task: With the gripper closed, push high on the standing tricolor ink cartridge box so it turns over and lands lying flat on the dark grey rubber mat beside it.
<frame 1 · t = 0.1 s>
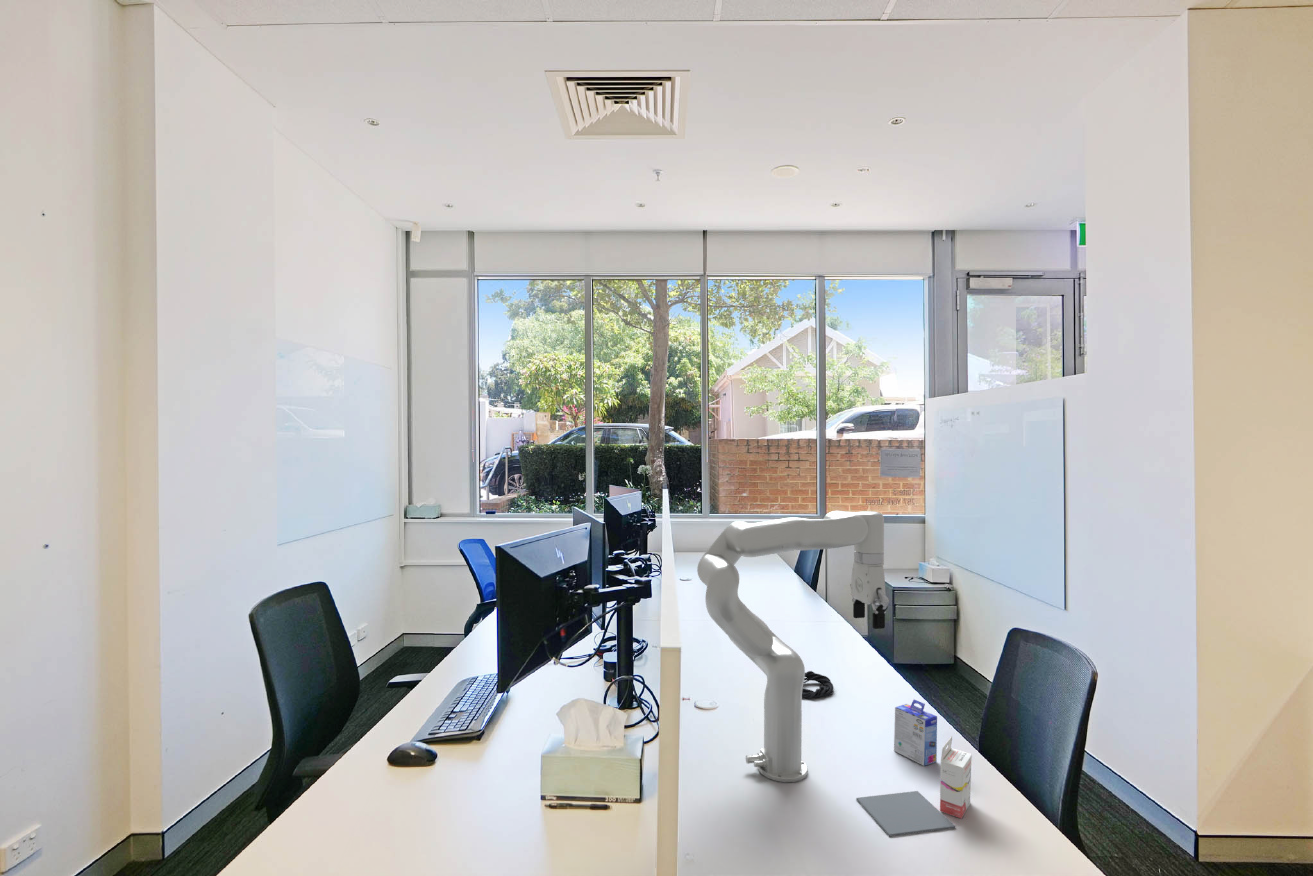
hand: (868, 622, 167), 37 cm above the table, tool pointing down, fingers open, 9 cm apart
cable: (812, 691, 215), on the table
rubber mat: (904, 813, 144), on the table
ink cartridge box: (915, 757, 170), on the table
ink cartridge box 2: (955, 808, 147), on the table
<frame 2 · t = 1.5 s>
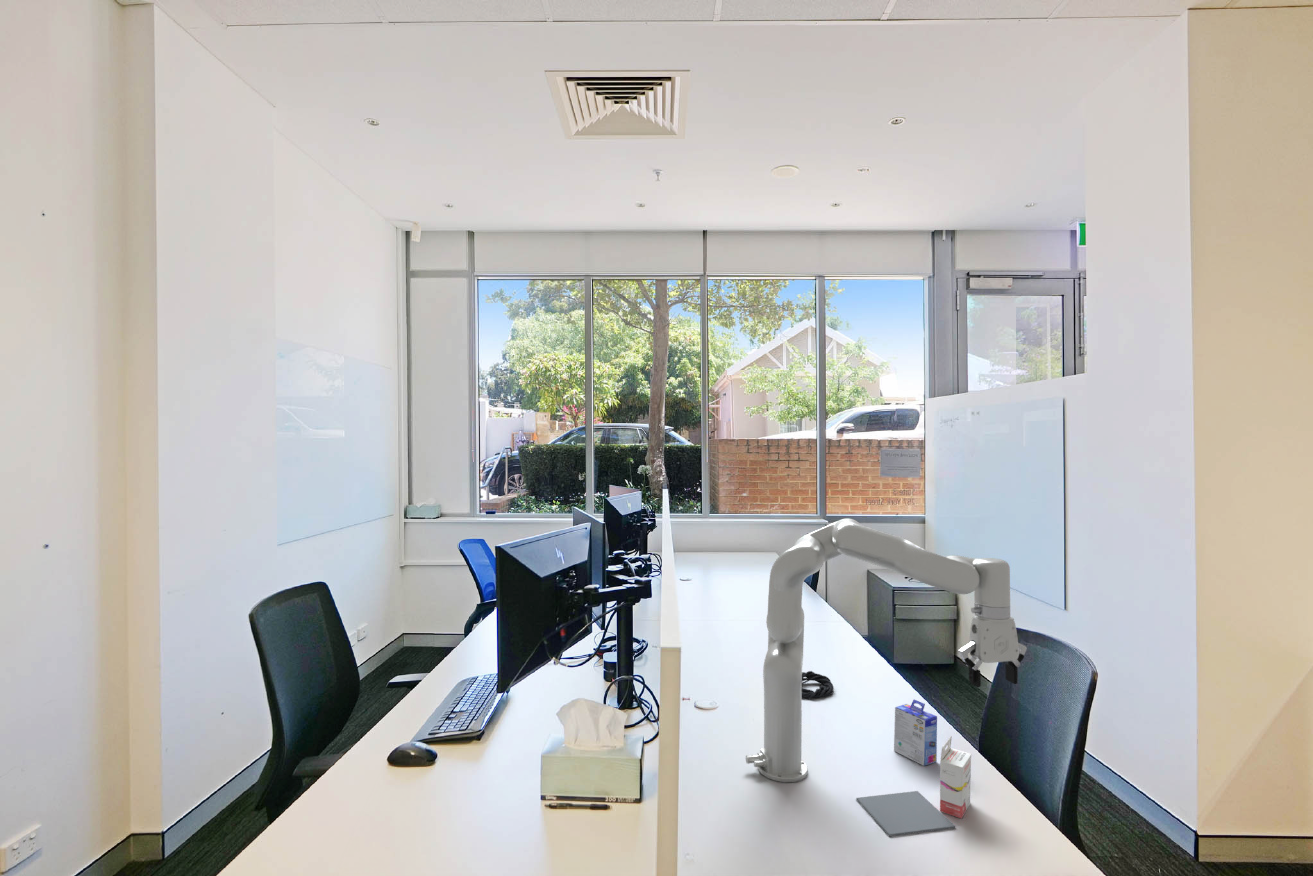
hand: (993, 683, 150), 28 cm above the table, tool pointing down, fingers open, 9 cm apart
nothing on the table moved.
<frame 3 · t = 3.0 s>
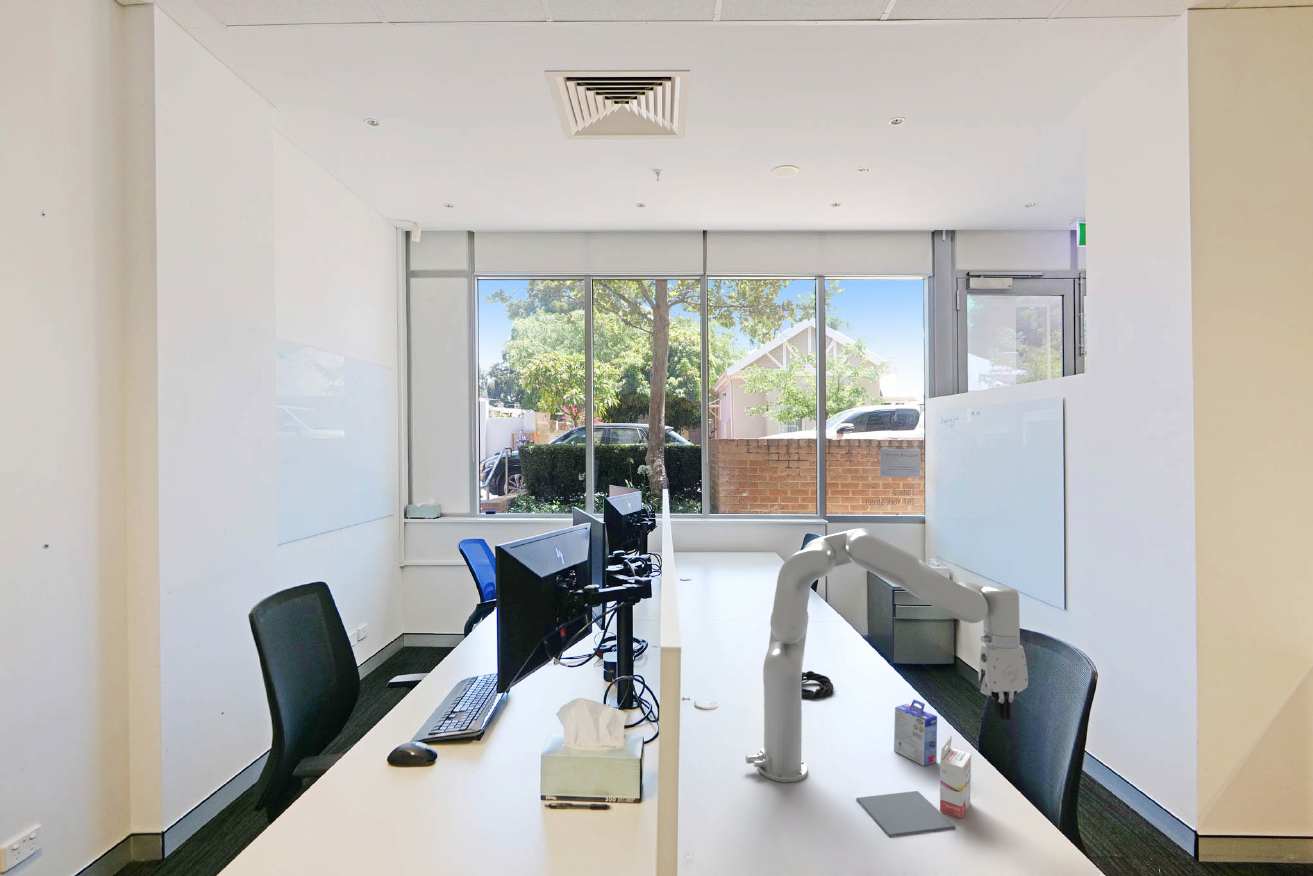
hand: (1002, 717, 149), 20 cm above the table, tool pointing down, fingers closed
nothing on the table moved.
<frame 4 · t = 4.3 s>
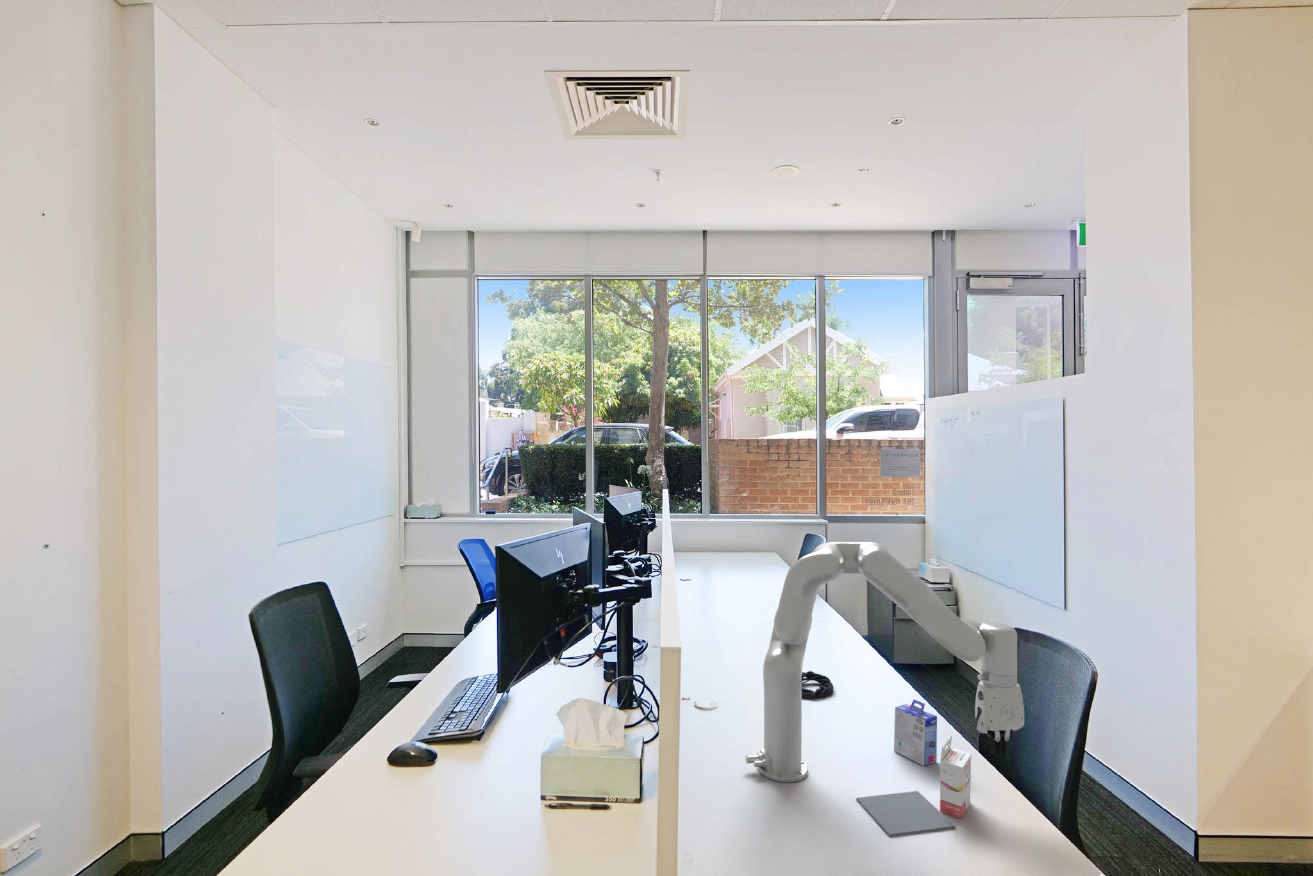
hand: (998, 755, 149), 11 cm above the table, tool pointing down, fingers closed
nothing on the table moved.
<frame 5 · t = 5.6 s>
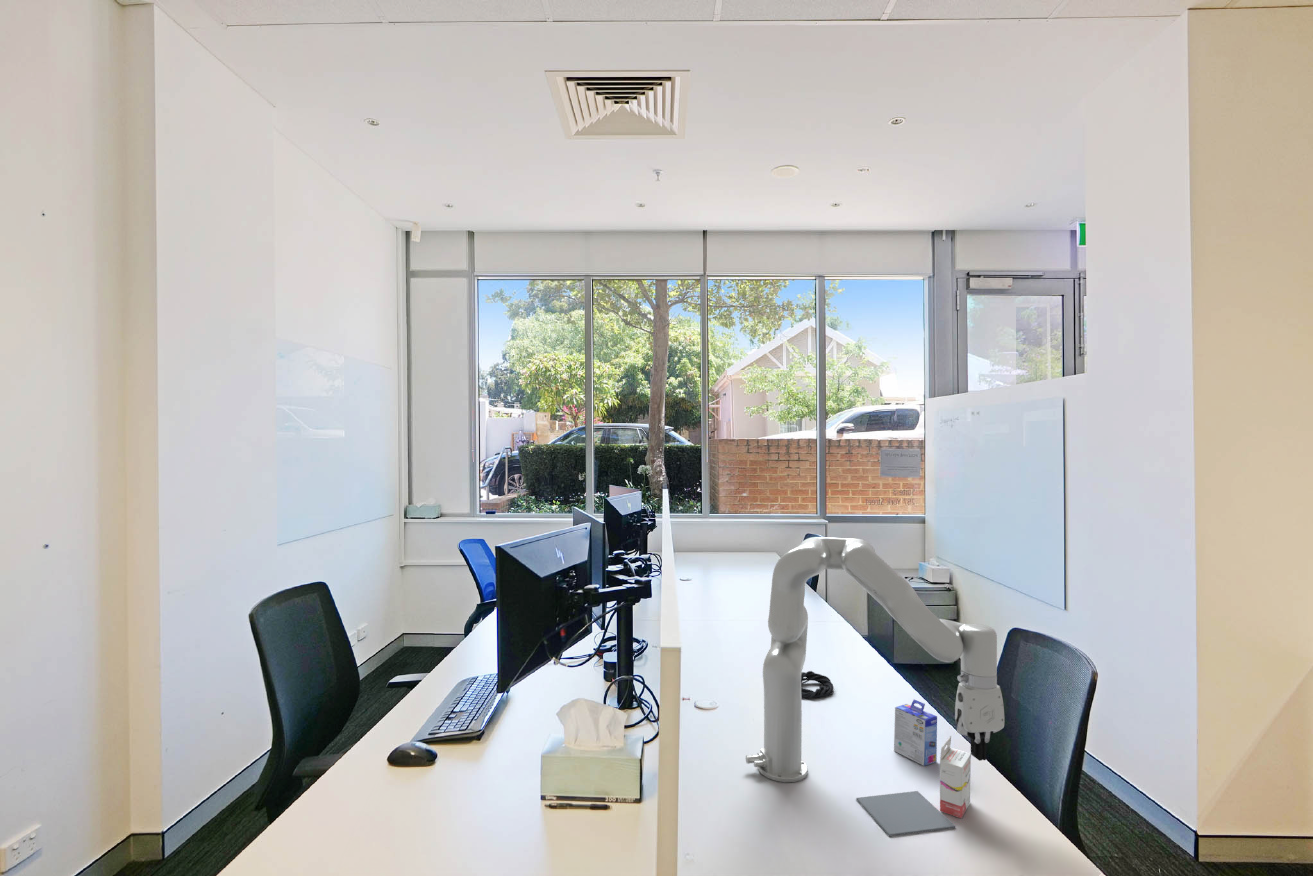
hand: (978, 757, 148), 11 cm above the table, tool pointing down, fingers closed
ink cartridge box 2: (955, 807, 147), on the table, touching gripper
everything else where it was.
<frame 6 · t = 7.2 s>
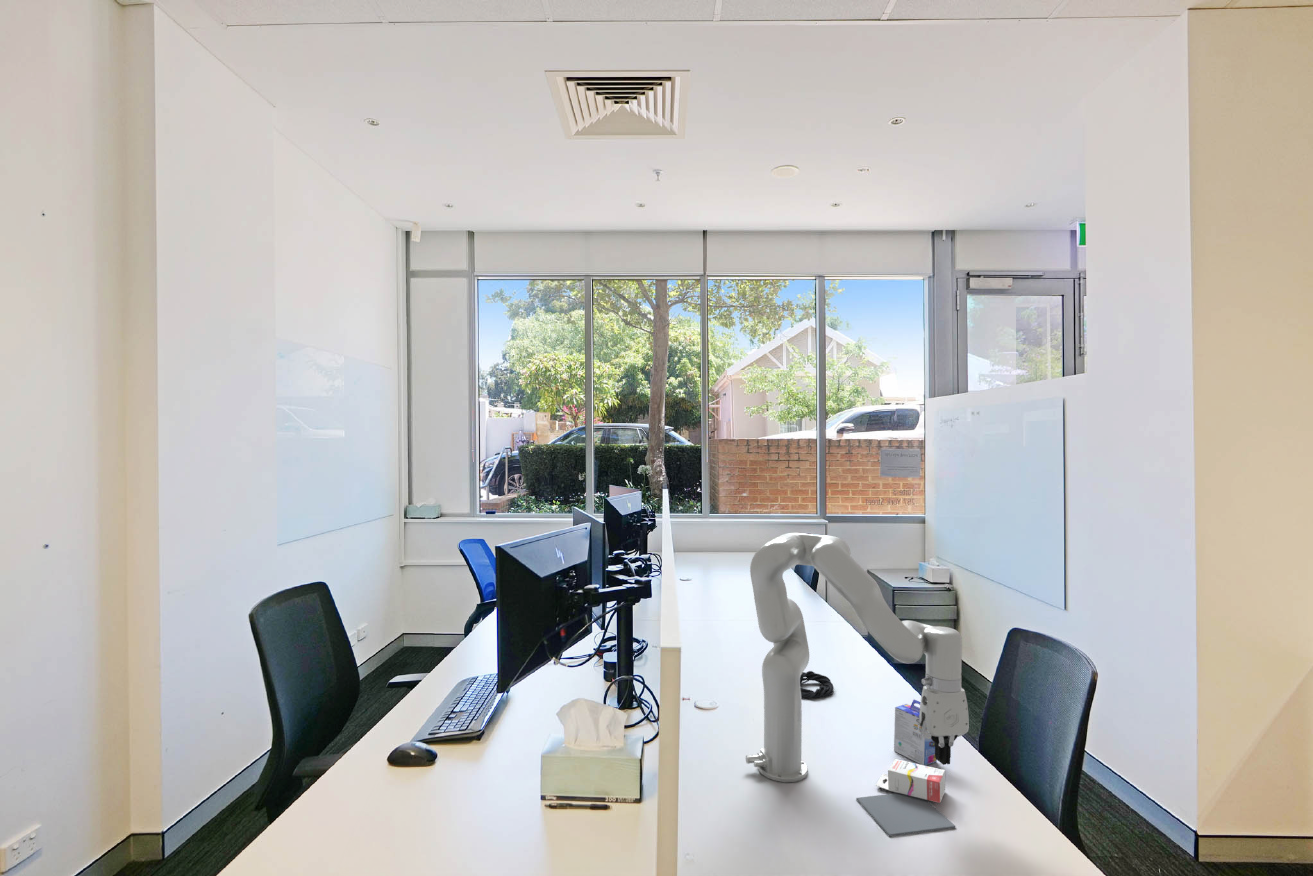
hand: (942, 761, 146), 11 cm above the table, tool pointing down, fingers closed
ink cartridge box 2: (943, 786, 150), point 3 cm above the table, touching rubber mat
everything else where it was.
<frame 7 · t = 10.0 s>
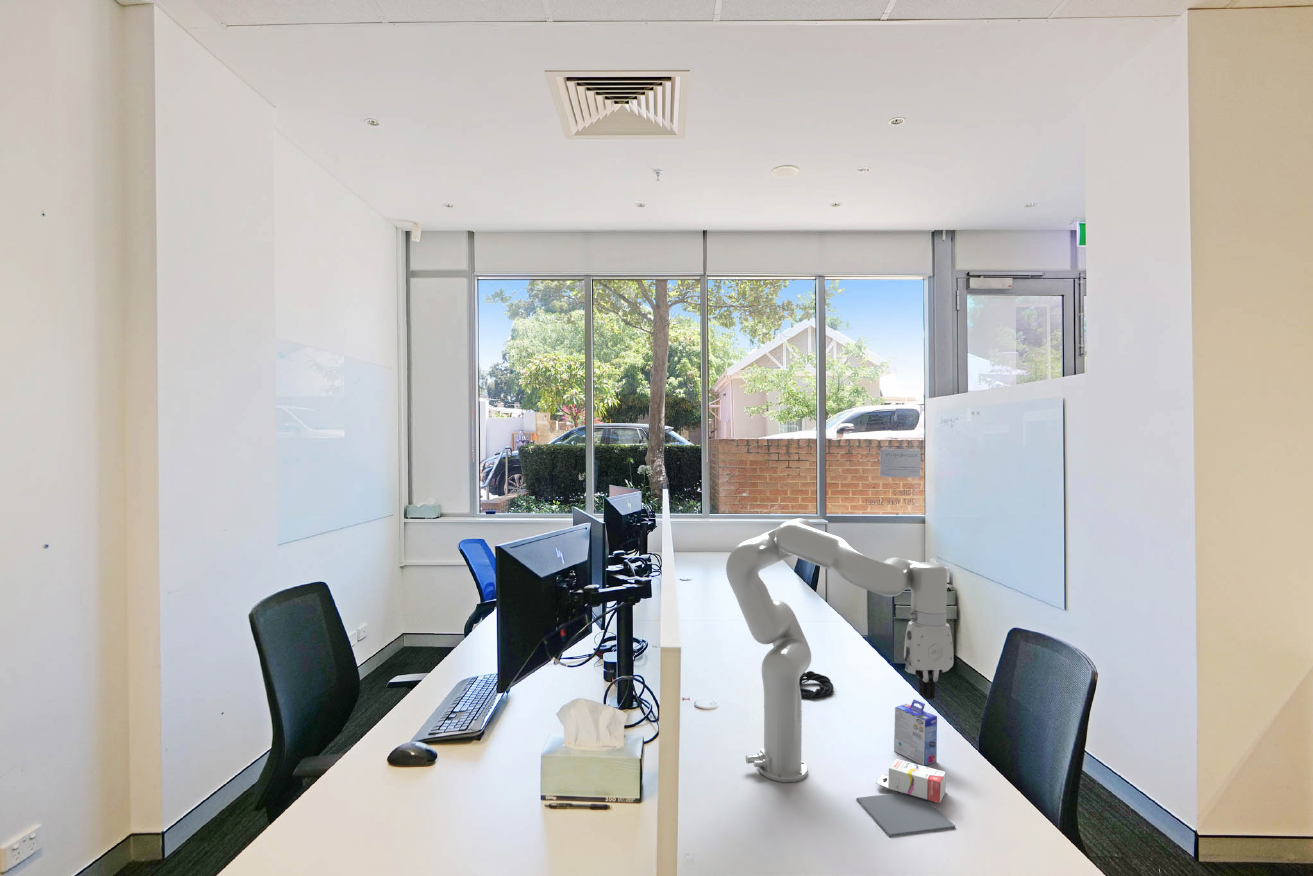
hand: (926, 696, 145), 26 cm above the table, tool pointing down, fingers closed
nothing on the table moved.
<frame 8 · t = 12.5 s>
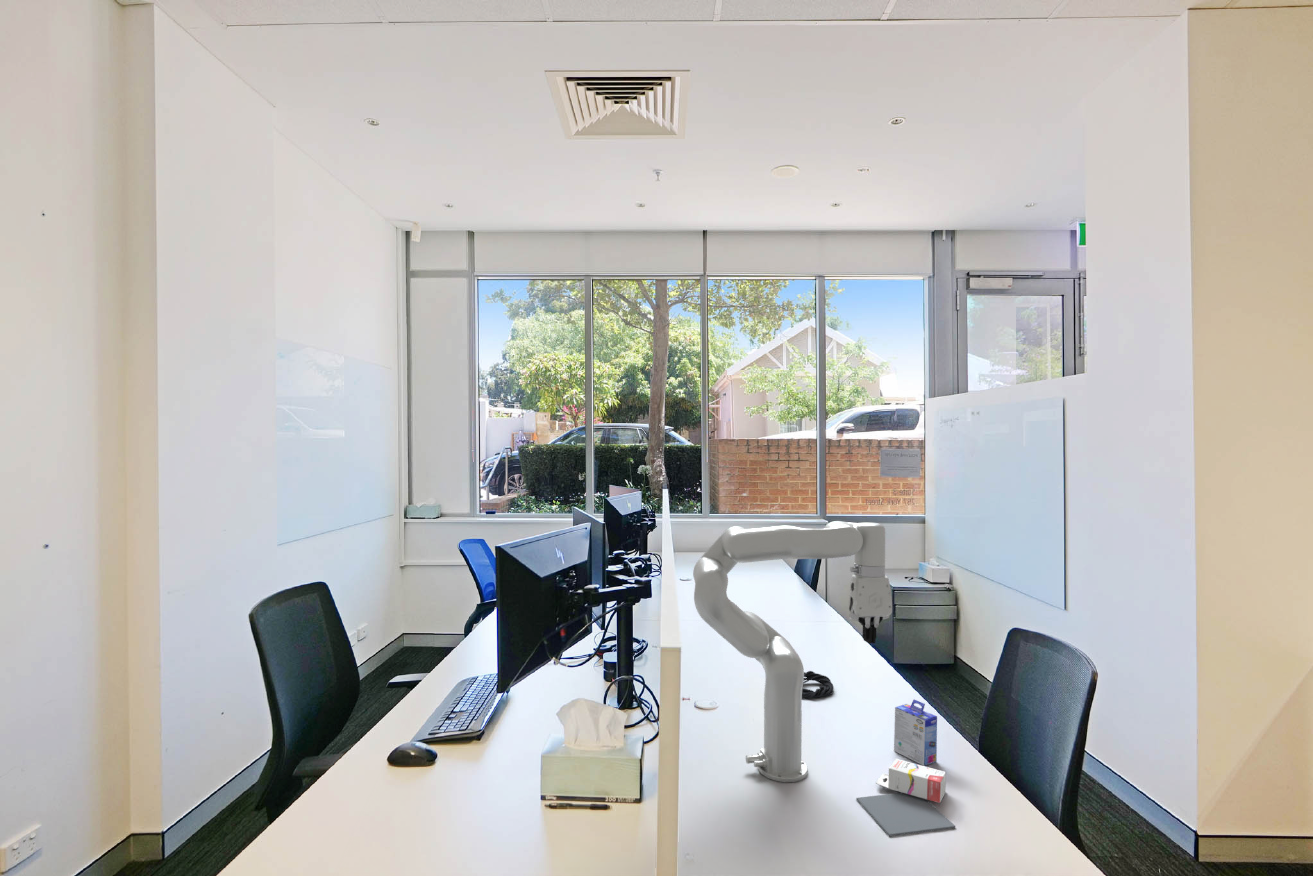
hand: (869, 641, 163), 33 cm above the table, tool pointing down, fingers closed
nothing on the table moved.
at the end: ink cartridge box 2 tilted 90°; ink cartridge box 2 touching rubber mat, table; ink cartridge box 2 inside the target area (8.7 cm from its centre), point 3.0 cm above the table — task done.
